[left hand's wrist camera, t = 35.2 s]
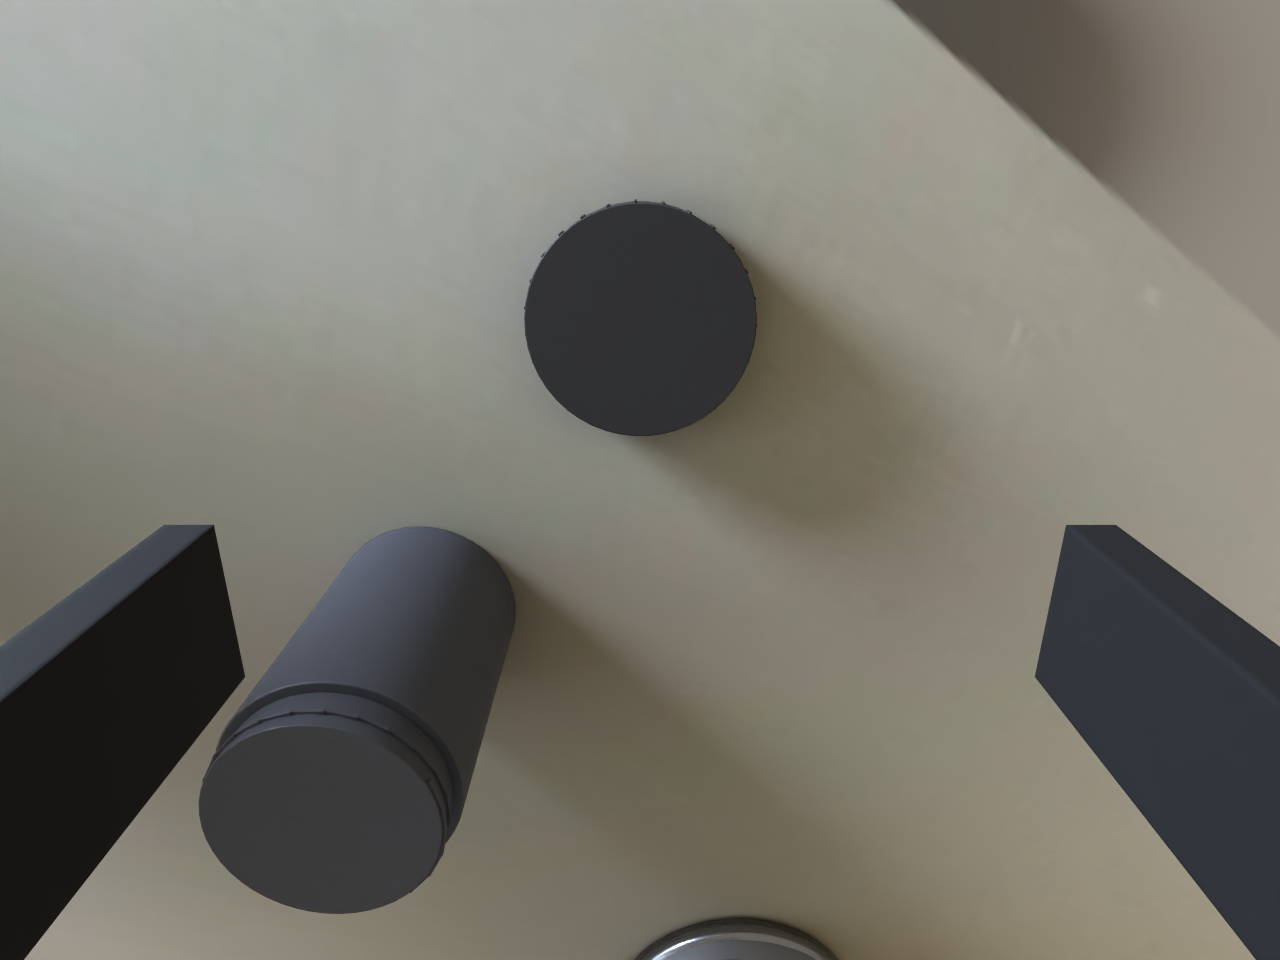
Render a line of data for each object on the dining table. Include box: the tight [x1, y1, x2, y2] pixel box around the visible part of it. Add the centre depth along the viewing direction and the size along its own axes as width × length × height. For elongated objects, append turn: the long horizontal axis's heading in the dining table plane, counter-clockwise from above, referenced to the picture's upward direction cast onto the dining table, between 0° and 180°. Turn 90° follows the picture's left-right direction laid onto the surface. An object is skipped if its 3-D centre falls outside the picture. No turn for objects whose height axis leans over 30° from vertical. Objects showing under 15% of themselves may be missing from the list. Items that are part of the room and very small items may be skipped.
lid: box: [524, 199, 757, 436], centre depth 36 cm, size 10×10×2 cm
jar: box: [199, 527, 515, 914], centre depth 35 cm, size 9×9×15 cm
